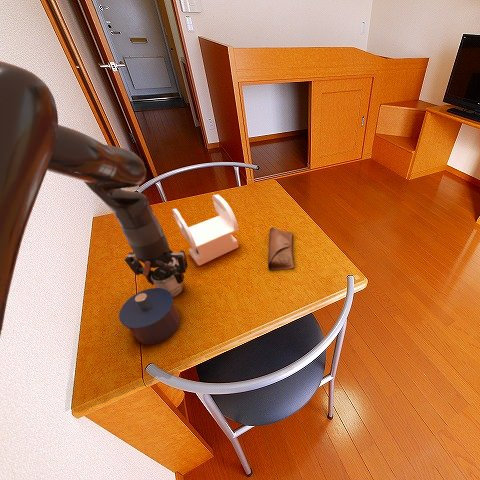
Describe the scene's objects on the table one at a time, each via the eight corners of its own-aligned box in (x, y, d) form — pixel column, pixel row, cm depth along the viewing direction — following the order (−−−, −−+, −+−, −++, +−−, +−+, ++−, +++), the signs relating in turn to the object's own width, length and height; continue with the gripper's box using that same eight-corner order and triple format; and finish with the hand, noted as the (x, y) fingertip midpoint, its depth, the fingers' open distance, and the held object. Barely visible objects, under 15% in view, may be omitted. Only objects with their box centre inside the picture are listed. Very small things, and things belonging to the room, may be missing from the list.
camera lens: (172, 302, 75) (162, 283, 70) (154, 294, 77) (144, 275, 72) (188, 285, 80) (180, 266, 75) (171, 279, 81) (162, 260, 76)
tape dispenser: (201, 271, 84) (185, 224, 72) (185, 249, 91) (167, 203, 80) (243, 251, 92) (234, 205, 80) (224, 232, 99) (214, 188, 87)
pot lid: (151, 336, 60) (143, 324, 57) (109, 323, 62) (99, 311, 59) (183, 296, 68) (178, 284, 65) (145, 286, 70) (138, 274, 67)
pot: (161, 349, 65) (150, 332, 60) (125, 338, 67) (111, 320, 62) (188, 314, 72) (180, 296, 68) (155, 304, 74) (145, 286, 69)
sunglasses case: (296, 267, 86) (284, 254, 82) (277, 276, 88) (264, 264, 83) (293, 231, 99) (282, 219, 95) (277, 240, 101) (266, 228, 97)
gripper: (104, 246, 61) (134, 294, 72) (172, 244, 63) (191, 291, 74) (120, 226, 67) (145, 273, 78) (181, 224, 69) (198, 270, 79)
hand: (167, 281), depth 76 cm, fingers closed on camera lens, 6 cm apart
